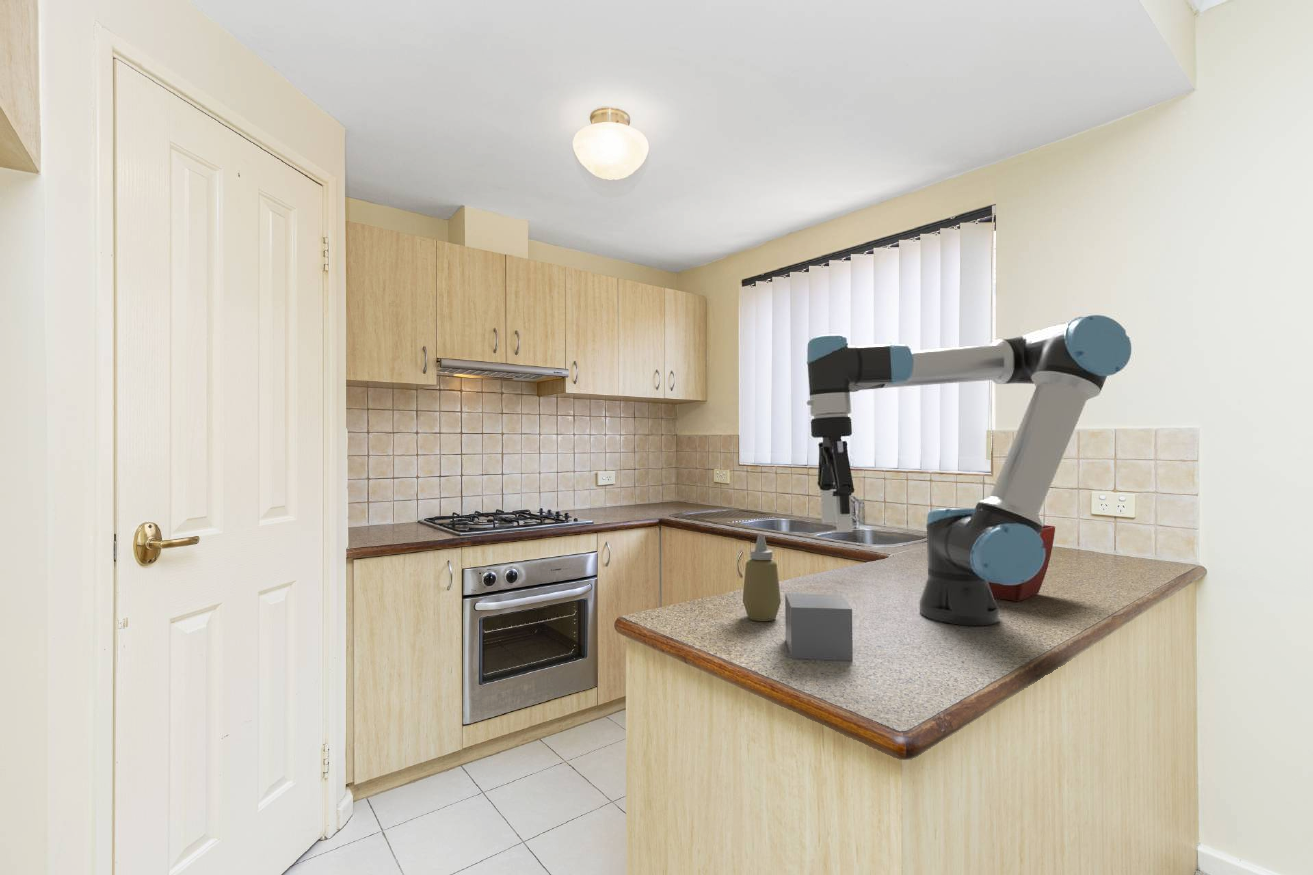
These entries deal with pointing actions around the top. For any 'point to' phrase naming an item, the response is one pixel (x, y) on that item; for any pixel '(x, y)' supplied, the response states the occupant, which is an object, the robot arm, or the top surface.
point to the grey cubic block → (818, 626)
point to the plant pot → (1034, 583)
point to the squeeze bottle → (761, 584)
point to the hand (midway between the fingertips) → (836, 527)
